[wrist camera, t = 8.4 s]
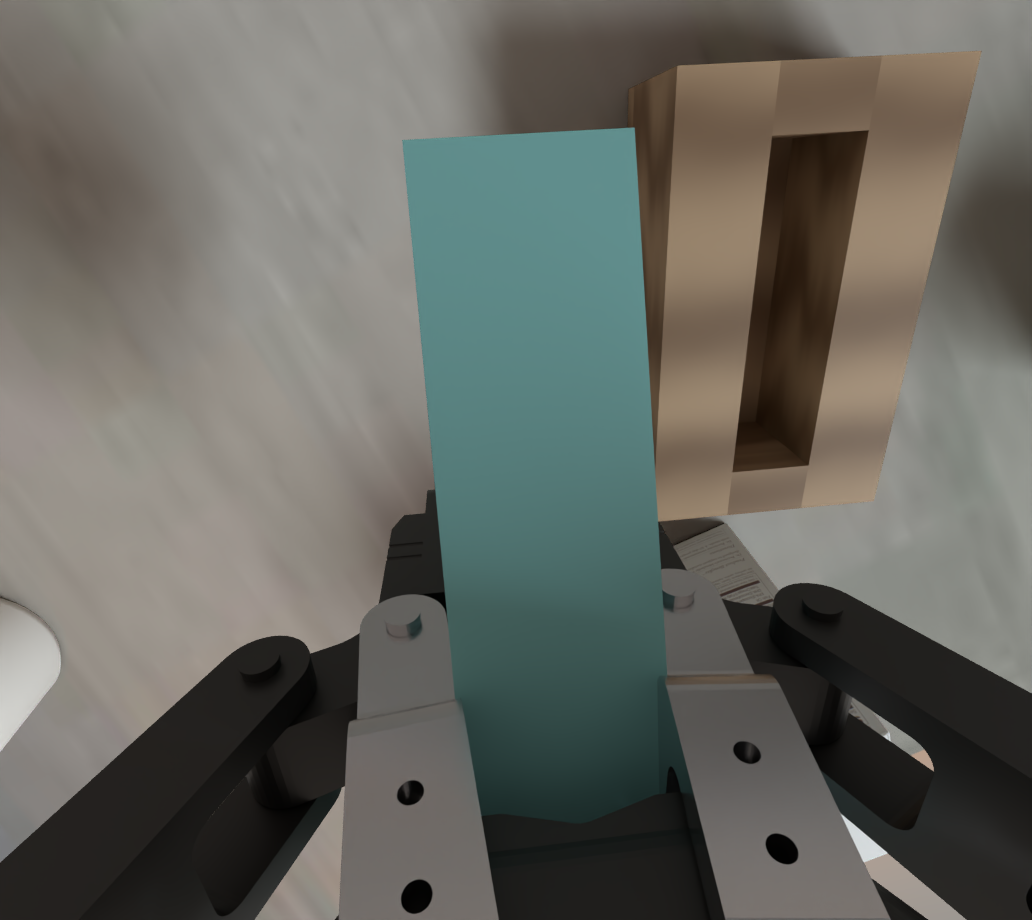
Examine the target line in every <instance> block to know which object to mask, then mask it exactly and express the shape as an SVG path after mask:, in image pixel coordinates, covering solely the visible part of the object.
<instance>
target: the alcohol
mask: <svg viewBox="0 0 1032 920" xmlns="http://www.w3.org/2000/svg"><path fill="white" fill-rule="evenodd" d="M60 667H61V656H60V647H59V643H58V640H57V638H56V636H55V634H54V632H53V631H52V630H51V628H50V627H49V626H48V624H47V623H46V622H44V621H43V620H42V619H41V618H40V617H39V616H38V615H36V614H35V613H33V612H32V611H30V610H29V609H27V608H25V607H23V606H21V605H19V604H17V603H14V602H11V601H8V600H5V599H2V598H0V752H1V750H2V749H3V748H4V746H5V745H6V744H7V743H8V741H9V740H10V739H11V738H12V736H13V735H14V734H15V732H16V731H17V730H18V729H19V727H20V726H21V725H22V724H23V722H24V721H25V720H26V718H27V717H28V716H29V715H30V713H31V712H32V711H33V710H34V708H35V707H36V706H37V704H38V703H39V702H40V701H41V699H42V698H43V697H44V696H45V694H46V693H47V692H48V690H49V689H50V688H51V687H52V685H53V684H54V683H55V681H56V680H57V678H58V675H59V673H60Z"/></svg>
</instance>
